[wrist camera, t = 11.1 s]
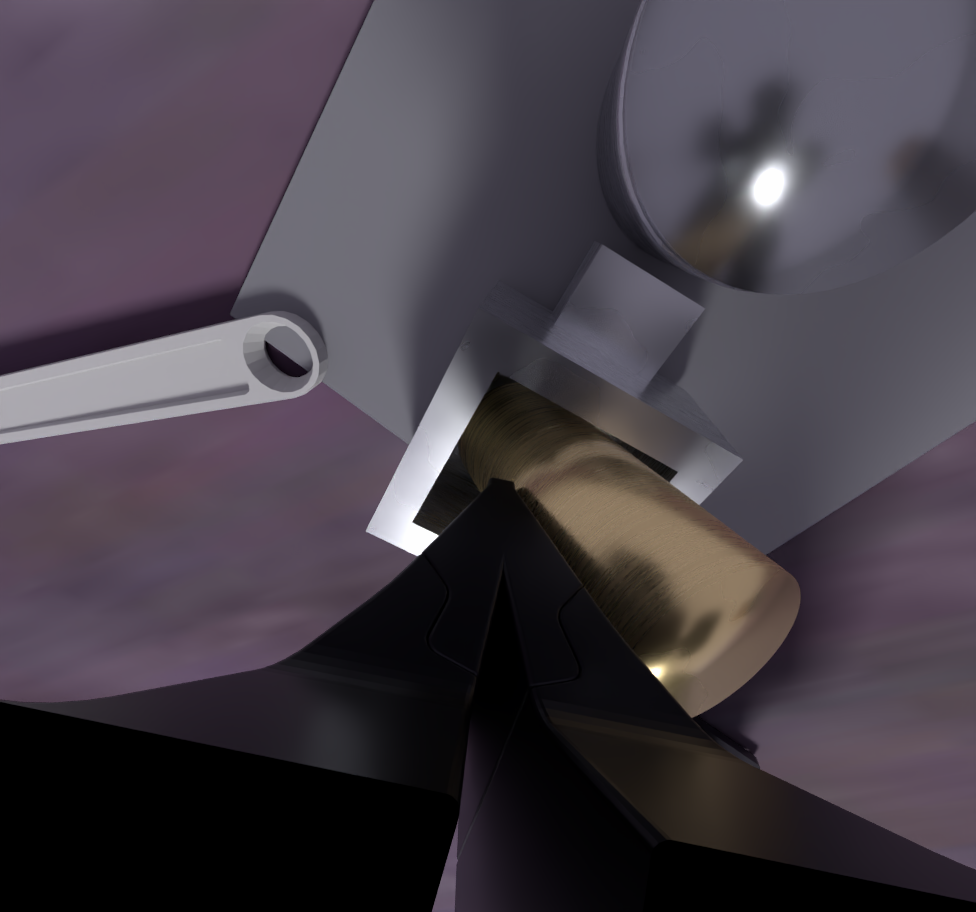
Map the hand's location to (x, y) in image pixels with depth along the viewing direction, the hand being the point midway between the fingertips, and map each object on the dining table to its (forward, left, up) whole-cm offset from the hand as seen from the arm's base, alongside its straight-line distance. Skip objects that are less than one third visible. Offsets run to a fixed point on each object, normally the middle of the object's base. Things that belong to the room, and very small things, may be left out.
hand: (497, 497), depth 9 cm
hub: (+1, -8, -6) cm, 10 cm away
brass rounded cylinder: (0, 0, -4) cm, 4 cm away
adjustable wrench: (+13, +13, -7) cm, 20 cm away
